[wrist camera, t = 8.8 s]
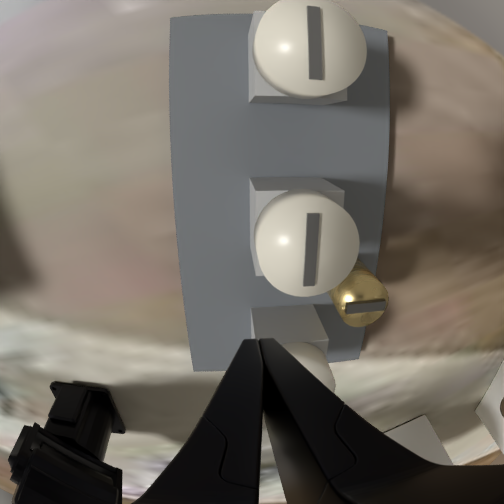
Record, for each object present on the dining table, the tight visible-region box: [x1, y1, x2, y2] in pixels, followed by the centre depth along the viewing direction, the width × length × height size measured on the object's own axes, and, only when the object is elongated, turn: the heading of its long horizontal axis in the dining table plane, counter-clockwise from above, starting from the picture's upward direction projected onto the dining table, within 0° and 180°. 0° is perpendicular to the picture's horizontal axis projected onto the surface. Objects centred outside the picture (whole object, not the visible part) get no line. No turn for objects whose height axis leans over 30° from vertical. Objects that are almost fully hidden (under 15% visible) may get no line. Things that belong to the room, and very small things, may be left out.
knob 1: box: [252, 0, 367, 99], centre depth 13 cm, size 4×4×6 cm
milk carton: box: [384, 415, 453, 465], centre depth 23 cm, size 7×7×19 cm
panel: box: [169, 11, 390, 371], centre depth 17 cm, size 24×13×5 cm, turn 1°
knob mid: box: [254, 189, 360, 297], centre depth 16 cm, size 4×4×6 cm
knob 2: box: [282, 342, 336, 393], centre depth 19 cm, size 4×4×6 cm
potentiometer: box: [327, 257, 388, 327], centre depth 19 cm, size 3×3×4 cm
